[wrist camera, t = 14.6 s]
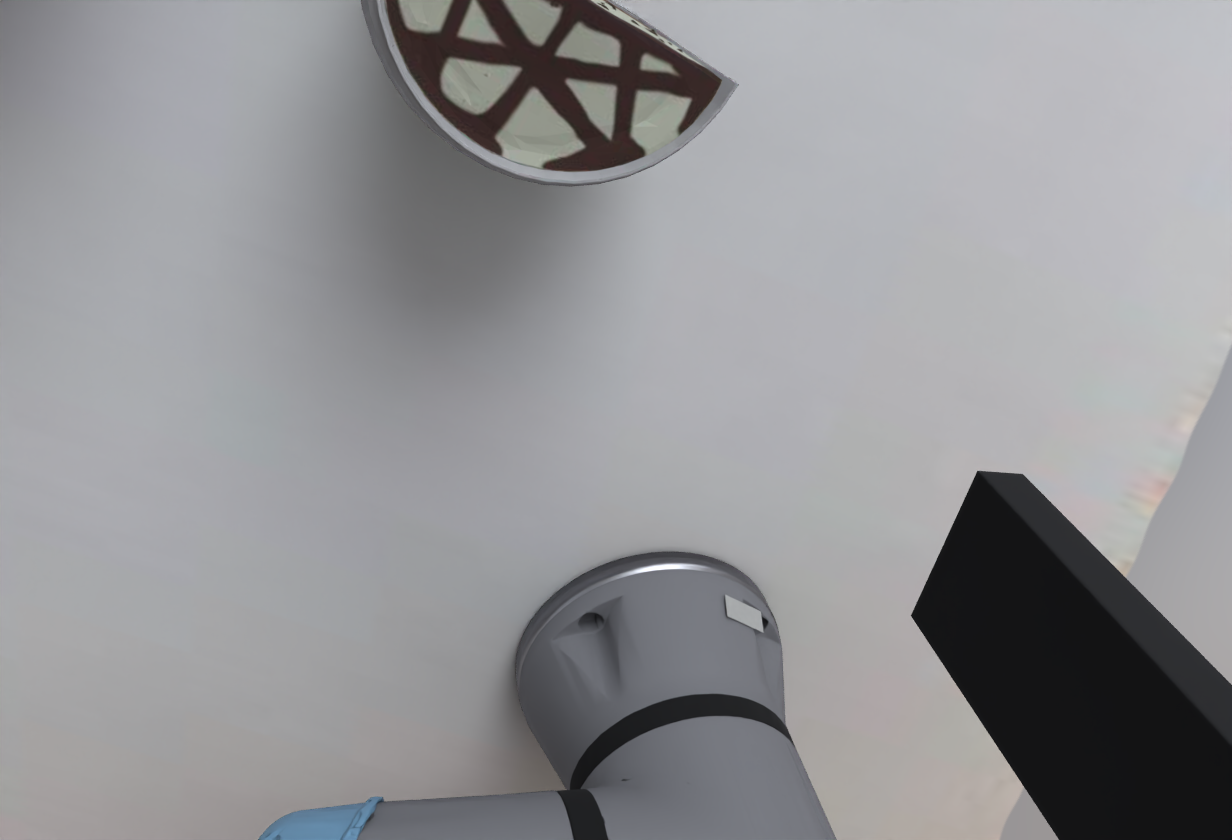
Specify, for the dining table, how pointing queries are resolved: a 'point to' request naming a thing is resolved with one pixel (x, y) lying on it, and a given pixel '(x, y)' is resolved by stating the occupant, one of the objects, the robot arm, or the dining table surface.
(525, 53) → the food container
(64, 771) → the dining table surface
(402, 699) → the dining table surface
